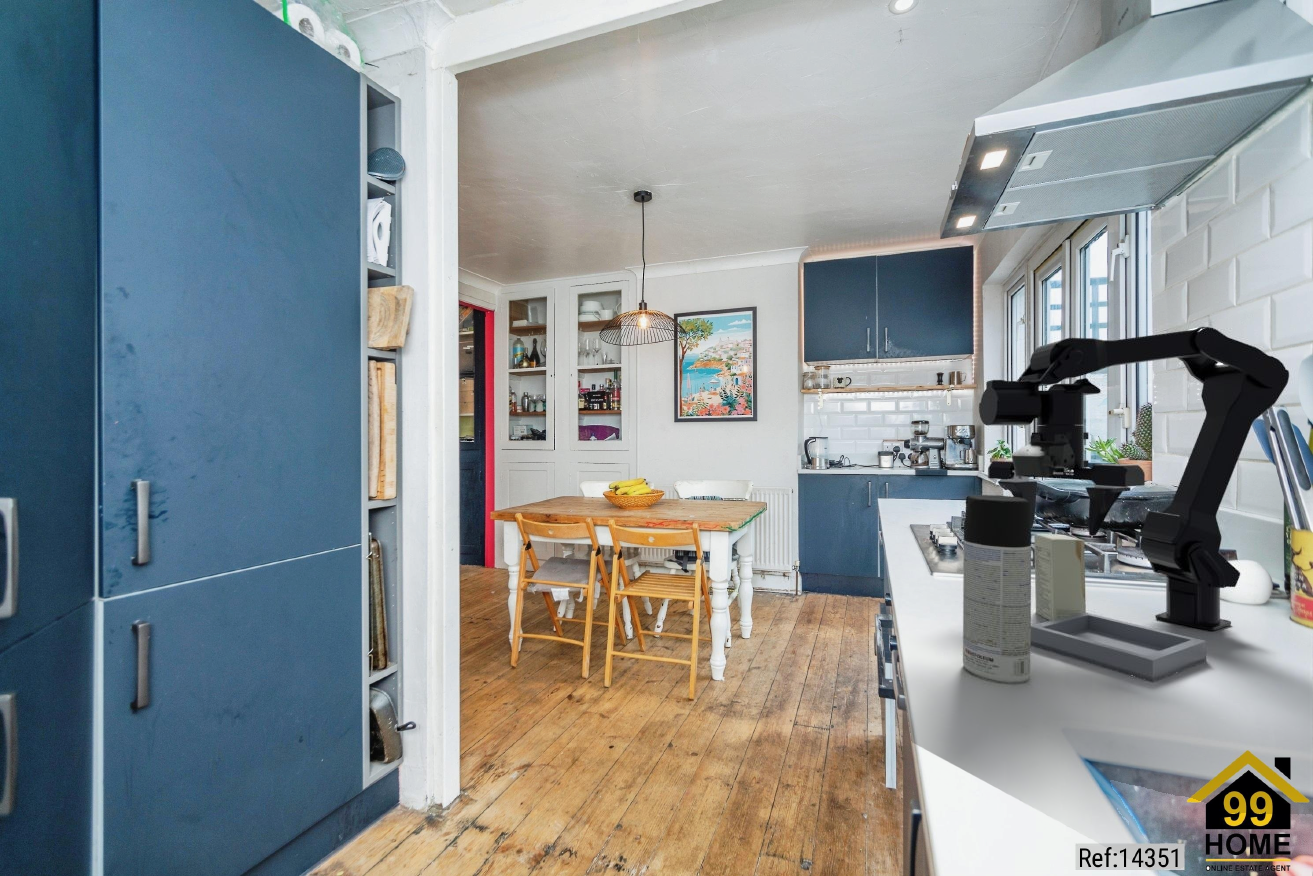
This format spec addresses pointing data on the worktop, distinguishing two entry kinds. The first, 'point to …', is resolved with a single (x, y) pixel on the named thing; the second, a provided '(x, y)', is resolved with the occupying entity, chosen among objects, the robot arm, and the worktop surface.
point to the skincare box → (1059, 576)
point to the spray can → (997, 588)
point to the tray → (1119, 645)
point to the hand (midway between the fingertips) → (1059, 531)
